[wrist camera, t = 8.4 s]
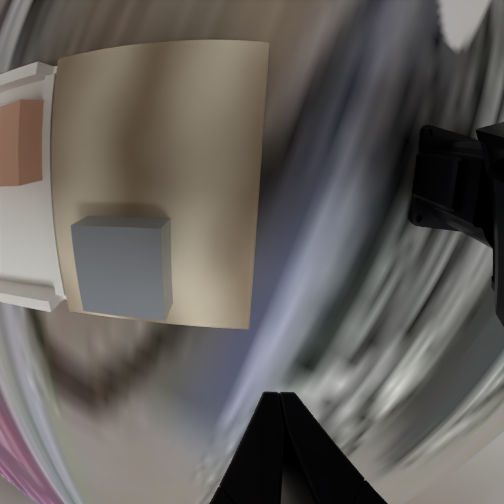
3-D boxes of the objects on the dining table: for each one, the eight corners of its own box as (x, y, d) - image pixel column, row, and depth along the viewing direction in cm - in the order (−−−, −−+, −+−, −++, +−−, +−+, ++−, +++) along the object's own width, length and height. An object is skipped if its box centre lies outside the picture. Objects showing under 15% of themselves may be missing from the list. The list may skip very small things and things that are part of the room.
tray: (68, 65, 14) (47, 58, 12) (76, 296, 20) (60, 313, 17) (-24, 94, 14) (-45, 94, 11) (-10, 282, 19) (-27, 294, 17)
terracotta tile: (43, 100, 14) (20, 99, 12) (42, 180, 15) (19, 186, 13) (2, 113, 14) (-19, 114, 12) (2, 181, 16) (-19, 187, 14)
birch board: (267, 52, 15) (269, 42, 13) (248, 312, 20) (248, 329, 18) (74, 64, 14) (58, 58, 12) (81, 297, 20) (69, 310, 18)
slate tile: (170, 218, 16) (160, 228, 14) (173, 302, 17) (165, 321, 16) (87, 215, 16) (70, 225, 14) (97, 295, 17) (83, 311, 15)
